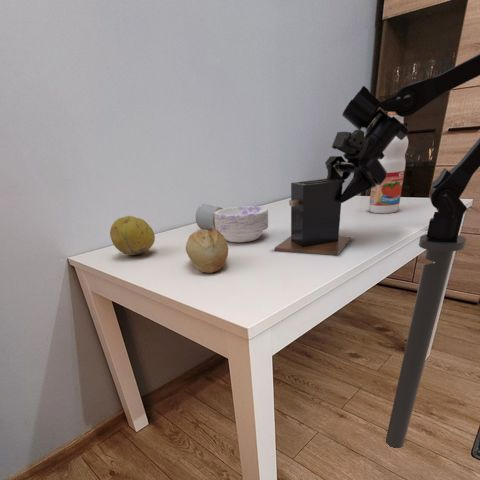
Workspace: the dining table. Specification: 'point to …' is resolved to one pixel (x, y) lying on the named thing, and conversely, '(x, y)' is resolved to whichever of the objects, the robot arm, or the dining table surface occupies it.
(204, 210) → the ceramic mug
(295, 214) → the toaster
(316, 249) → the board
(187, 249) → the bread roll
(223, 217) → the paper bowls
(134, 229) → the fruit
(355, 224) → the dining table surface
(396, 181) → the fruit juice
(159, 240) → the dining table surface
